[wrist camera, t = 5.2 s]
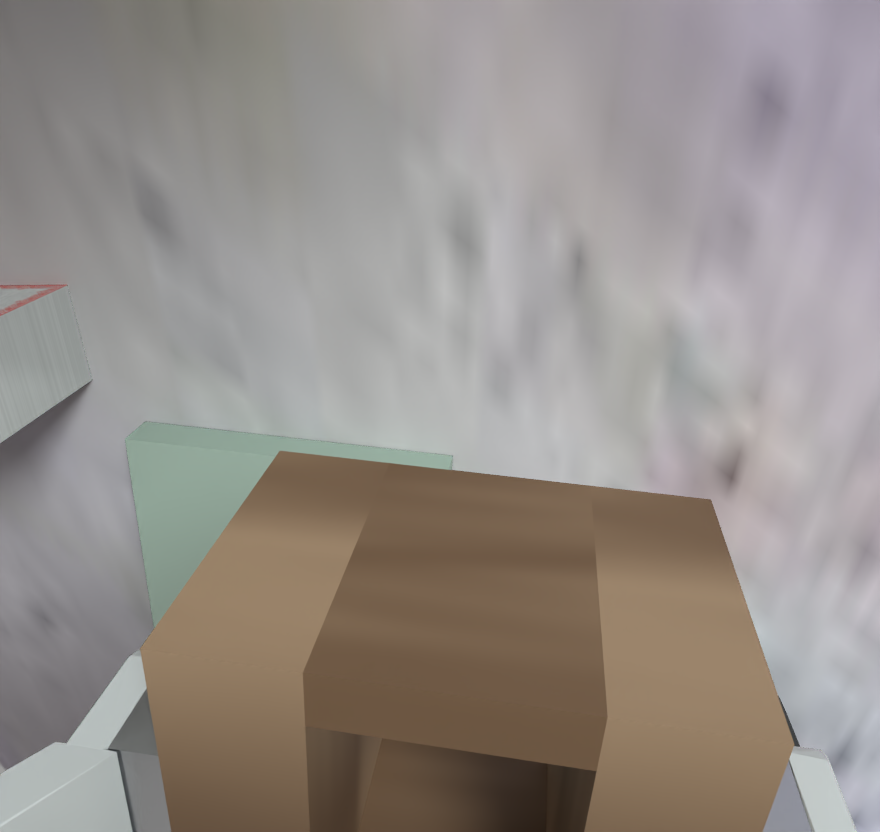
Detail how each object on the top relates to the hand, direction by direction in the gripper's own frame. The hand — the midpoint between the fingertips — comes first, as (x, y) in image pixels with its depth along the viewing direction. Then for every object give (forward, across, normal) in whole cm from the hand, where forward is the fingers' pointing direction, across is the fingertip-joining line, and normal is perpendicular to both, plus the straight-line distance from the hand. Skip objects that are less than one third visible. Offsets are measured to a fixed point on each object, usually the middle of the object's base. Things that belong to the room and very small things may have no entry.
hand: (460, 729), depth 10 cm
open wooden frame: (+2, 0, 0) cm, 2 cm away
